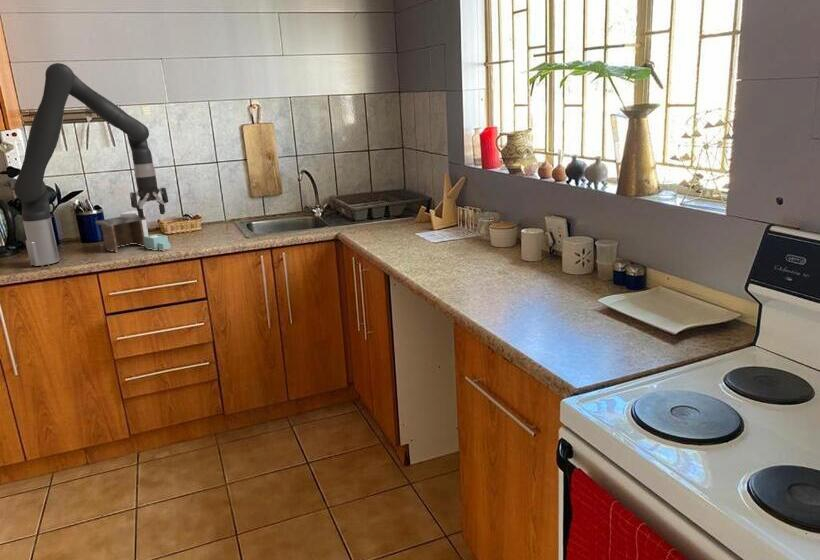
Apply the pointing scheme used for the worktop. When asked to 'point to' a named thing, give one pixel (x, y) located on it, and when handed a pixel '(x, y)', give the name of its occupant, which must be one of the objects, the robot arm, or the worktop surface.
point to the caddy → (157, 241)
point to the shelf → (122, 231)
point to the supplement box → (142, 220)
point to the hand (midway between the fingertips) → (152, 216)
